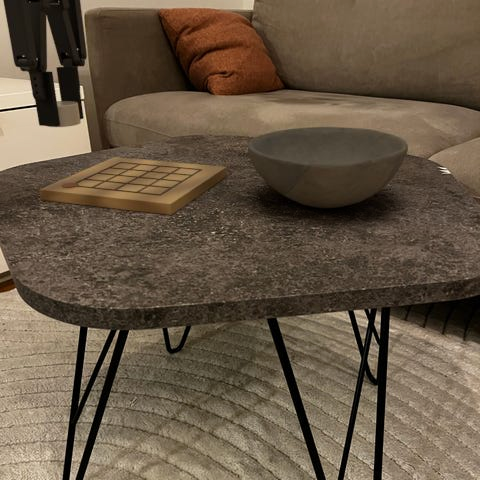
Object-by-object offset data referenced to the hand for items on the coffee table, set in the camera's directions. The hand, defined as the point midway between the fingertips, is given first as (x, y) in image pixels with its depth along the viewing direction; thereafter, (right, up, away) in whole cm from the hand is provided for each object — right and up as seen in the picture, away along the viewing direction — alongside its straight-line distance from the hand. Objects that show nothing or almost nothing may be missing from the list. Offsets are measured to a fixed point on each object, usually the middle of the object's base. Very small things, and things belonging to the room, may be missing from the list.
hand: (61, 121), depth 79 cm
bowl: (+35, -10, +3) cm, 37 cm away
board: (+9, -7, +8) cm, 14 cm away
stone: (0, 0, 0) cm, 0 cm away
